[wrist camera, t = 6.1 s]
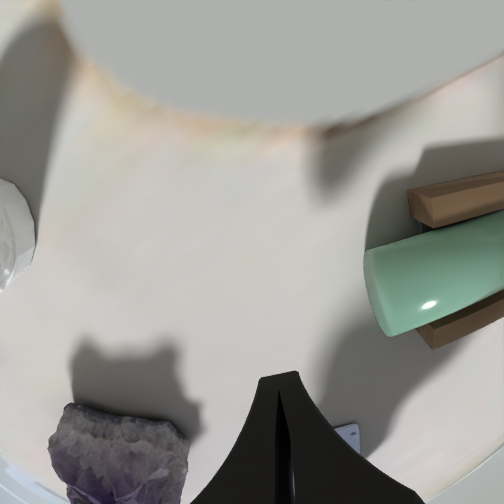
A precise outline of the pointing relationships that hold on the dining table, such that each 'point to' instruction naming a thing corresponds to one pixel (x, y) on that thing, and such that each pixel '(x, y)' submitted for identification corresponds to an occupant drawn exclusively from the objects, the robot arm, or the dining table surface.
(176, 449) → the geode
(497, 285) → the bottle
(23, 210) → the white cup
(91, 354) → the dining table surface
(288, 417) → the robot arm
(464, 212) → the cradle
